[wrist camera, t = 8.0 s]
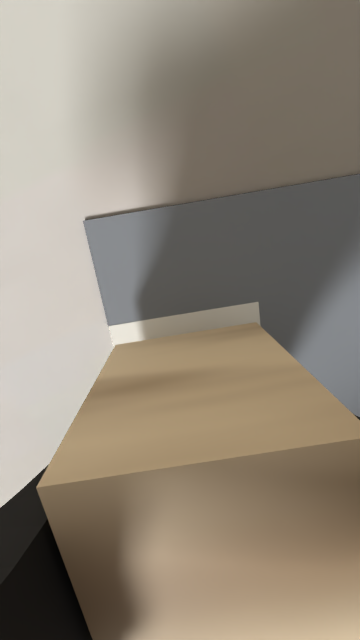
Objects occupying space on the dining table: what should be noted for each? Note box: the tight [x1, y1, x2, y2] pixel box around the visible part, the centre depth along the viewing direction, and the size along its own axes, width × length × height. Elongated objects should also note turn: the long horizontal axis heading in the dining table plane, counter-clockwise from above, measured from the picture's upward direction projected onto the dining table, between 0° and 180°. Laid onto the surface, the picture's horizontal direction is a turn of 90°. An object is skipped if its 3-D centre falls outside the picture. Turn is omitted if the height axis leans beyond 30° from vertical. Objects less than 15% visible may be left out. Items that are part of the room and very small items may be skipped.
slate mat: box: [83, 174, 360, 417], centre depth 13 cm, size 20×17×1 cm
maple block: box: [36, 322, 360, 640], centre depth 8 cm, size 5×5×6 cm
